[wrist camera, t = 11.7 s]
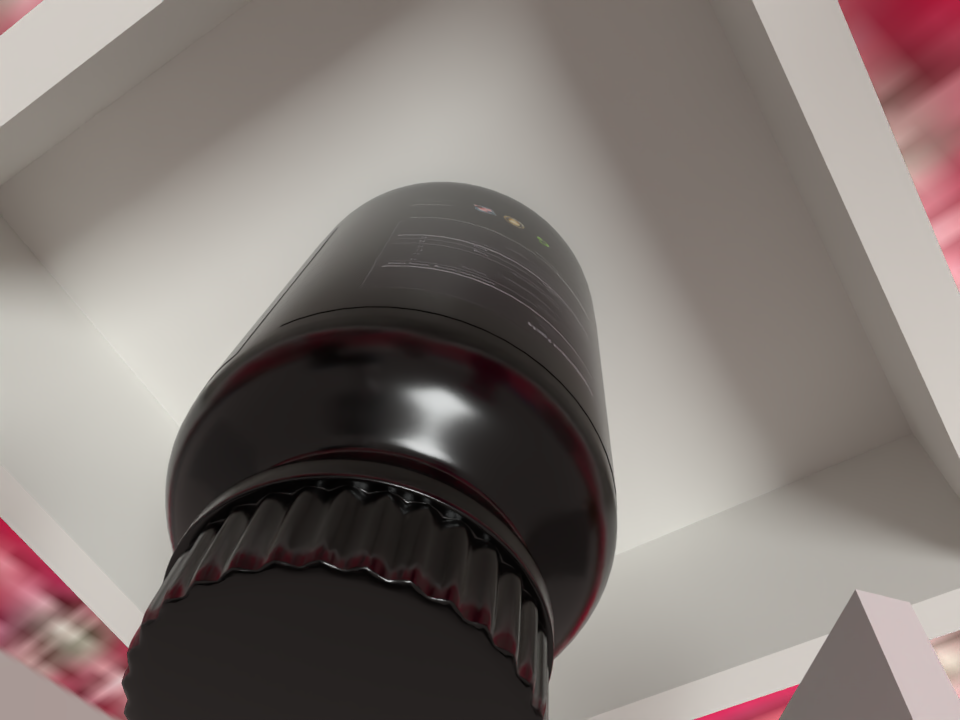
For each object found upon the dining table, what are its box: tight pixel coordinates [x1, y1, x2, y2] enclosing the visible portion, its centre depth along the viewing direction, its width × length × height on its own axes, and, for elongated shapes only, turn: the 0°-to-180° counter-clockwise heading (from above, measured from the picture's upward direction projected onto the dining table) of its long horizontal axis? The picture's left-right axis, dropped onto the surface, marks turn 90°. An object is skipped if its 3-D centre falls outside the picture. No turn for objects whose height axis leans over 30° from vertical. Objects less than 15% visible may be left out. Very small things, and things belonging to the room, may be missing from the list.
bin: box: [0, 0, 960, 720], centre depth 18 cm, size 18×18×6 cm
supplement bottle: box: [122, 182, 617, 720], centre depth 15 cm, size 7×7×12 cm
